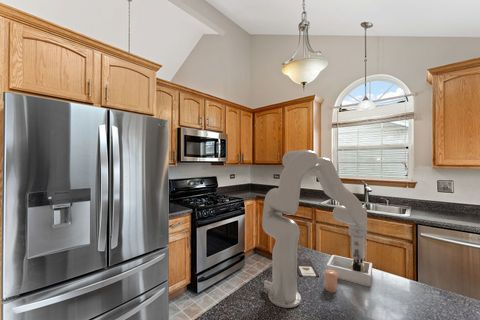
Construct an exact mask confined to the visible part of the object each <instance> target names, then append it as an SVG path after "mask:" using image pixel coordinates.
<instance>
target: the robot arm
mask: <svg viewBox="0 0 480 320" xmlns="http://www.w3.org/2000/svg"><path fill="white" fill-rule="evenodd" d="M281 160H282V161H281V163H282V165H283V167H284V168H283V169H282V172H281V174H280V177H279V183H278V188H277V187H274V188H272V189H270V190H268V192H266V194H265V198H264V201H263V207H262V208H263V209H262V218H261V226H262V230H263V232H264V233H265V234H266V235H268V236H270V237H271V238H273V239H274V240H275V242H274V246H273V248H272V254H271V255H272V256H271V257H272V261H271V262H272V264H271V266H272V271H271V272H272V281H270V280H266V279H265V280H264V281H263V285H264V286H263V288H264V289H267V290H269V291H268V293H267V296H268V299H269V301H270V302H271V303H272V304H273V305H275V306H276V307H281V308H285V309H286V308H288V309H289V308H290V309H291V308H295V307H298V306H299V305H300V304H301V302H302V296H301V293H299V292H298V271H297V259H298V245H299V240H300V234H301V233H300V232H301V231H300V227H299V225H298V224H297V223H296V222H295V221H294V220H293V219H291V218H289V217H286V216H283V215H289V216H291V215H294V214H296V213H297V212H298V209H299V204H300V196H301V194H300V193H301V186H302V181H303V179H304V177H305V176H309V177H315V178H317V181H318V182H319V185H320V186H321V189H322V190H323V192H324V194H325V195H326V196H328V197H329V198H330V199H332V200H334V201H336V202H337V203H339V204H340V205H338V206H337V205H336V206H335V207H334V208H333V210H332V217H333V218H334V220H336V221H337V222H341V223H344V224H347V225H348V235H349V236H351V257H352V259H353V270H354V271H358V272H361V265H360V263H363V261H364V259H365V257H366V238H367V237H368V209H367V207H366V206H365V205H363V204H362V202H361V201H360V200H359V198H358V197H357V196H356V194H355V195H354V193H352V192H351V191H350V189H348V188H347V187H345V185H344V184H343V182H342V180H341V178H340V176H339V173H338V170H337V169H336V167H335V165H334V163H333V161H332V160H331V159H330V158H327V157H318V153H316V152H315V151H313V150H310V149H302V150H301V149H300V150H289V151H287V152H285V154H283V156H282V159H281Z"/></svg>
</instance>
